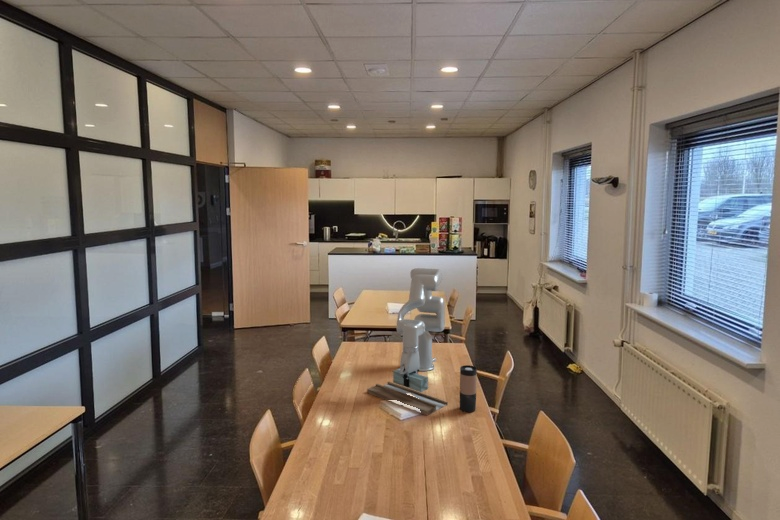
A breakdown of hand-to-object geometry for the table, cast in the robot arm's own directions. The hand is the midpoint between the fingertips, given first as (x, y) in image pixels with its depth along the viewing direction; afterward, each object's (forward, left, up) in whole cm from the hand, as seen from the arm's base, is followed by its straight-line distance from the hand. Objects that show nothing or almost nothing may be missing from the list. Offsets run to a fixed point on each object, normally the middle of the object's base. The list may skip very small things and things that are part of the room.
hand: (410, 384), depth 236 cm
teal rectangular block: (0, 0, -1) cm, 1 cm away
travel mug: (-7, +29, -7) cm, 31 cm away
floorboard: (+3, 0, -6) cm, 7 cm away
